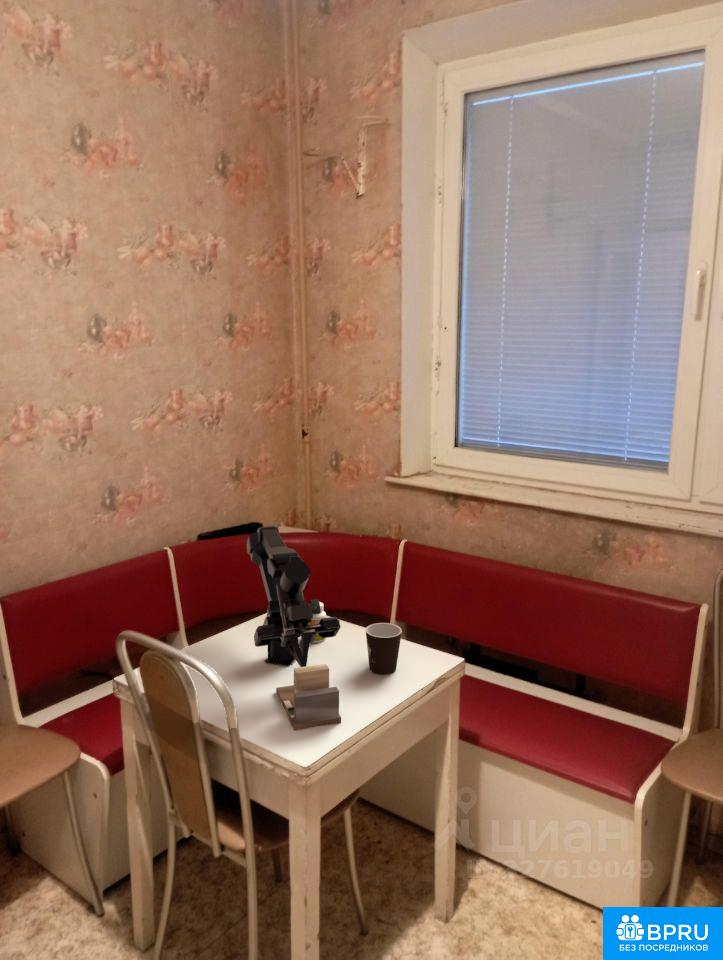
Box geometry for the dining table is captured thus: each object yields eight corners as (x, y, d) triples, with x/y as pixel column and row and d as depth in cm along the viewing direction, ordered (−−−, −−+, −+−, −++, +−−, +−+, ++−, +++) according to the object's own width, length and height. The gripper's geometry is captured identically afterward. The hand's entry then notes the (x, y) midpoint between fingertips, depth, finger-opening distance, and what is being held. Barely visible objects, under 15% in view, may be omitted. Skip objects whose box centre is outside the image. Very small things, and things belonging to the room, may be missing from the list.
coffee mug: (397, 679, 168) (398, 639, 166) (361, 675, 170) (362, 635, 168) (404, 657, 179) (405, 620, 177) (370, 654, 181) (371, 616, 179)
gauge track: (276, 692, 161) (276, 662, 160) (319, 686, 164) (319, 656, 163) (294, 730, 146) (294, 698, 144) (341, 722, 149) (341, 690, 148)
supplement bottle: (302, 636, 191) (302, 602, 189) (321, 633, 193) (322, 599, 191) (309, 644, 186) (309, 609, 184) (328, 641, 188) (329, 606, 186)
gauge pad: (286, 708, 151) (286, 669, 150) (325, 702, 154) (325, 663, 152) (289, 714, 149) (289, 674, 147) (328, 708, 152) (329, 668, 150)
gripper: (255, 591, 154) (266, 661, 147) (338, 583, 161) (353, 649, 153) (249, 612, 163) (259, 679, 155) (328, 603, 169) (341, 667, 162)
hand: (304, 668), depth 156 cm, fingers closed
